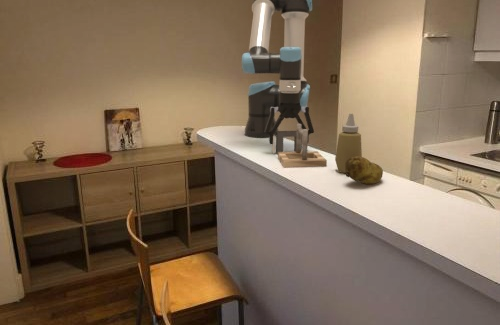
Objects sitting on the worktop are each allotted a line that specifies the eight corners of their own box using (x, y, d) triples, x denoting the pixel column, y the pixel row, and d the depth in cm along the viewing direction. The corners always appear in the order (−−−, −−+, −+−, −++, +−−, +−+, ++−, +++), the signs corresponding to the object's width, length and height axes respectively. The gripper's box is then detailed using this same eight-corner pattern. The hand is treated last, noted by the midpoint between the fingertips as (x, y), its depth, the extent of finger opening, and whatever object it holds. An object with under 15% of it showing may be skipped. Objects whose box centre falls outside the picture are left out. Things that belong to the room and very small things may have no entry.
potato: (392, 185, 115) (395, 157, 113) (351, 189, 112) (352, 161, 110) (376, 177, 123) (378, 151, 121) (337, 180, 120) (338, 153, 117)
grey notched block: (277, 154, 151) (277, 132, 149) (275, 152, 154) (276, 131, 152) (301, 153, 151) (302, 132, 149) (299, 151, 154) (300, 130, 152)
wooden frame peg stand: (277, 157, 146) (278, 123, 143) (316, 156, 147) (318, 123, 144) (283, 167, 133) (284, 130, 130) (326, 166, 135) (328, 129, 131)
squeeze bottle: (361, 175, 124) (365, 116, 119) (334, 174, 126) (337, 115, 121) (360, 168, 132) (364, 112, 127) (334, 167, 133) (337, 111, 129)
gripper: (258, 93, 142) (258, 155, 148) (324, 92, 144) (321, 154, 150) (256, 91, 149) (256, 150, 155) (319, 90, 151) (316, 149, 157)
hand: (288, 152), depth 152 cm, fingers open, 10 cm apart
